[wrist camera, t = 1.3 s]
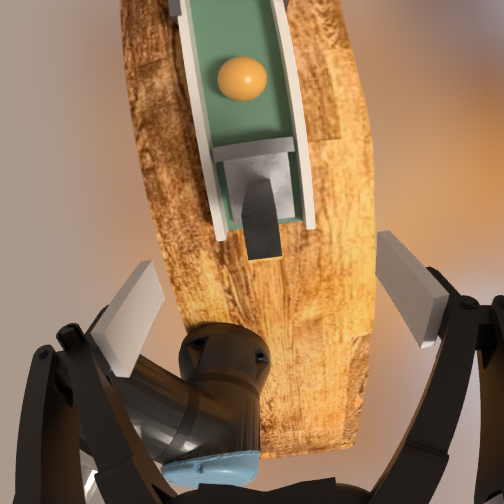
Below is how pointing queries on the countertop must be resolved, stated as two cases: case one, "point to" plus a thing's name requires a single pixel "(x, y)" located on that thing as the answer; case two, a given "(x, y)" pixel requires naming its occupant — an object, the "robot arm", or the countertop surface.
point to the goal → (176, 11)
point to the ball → (242, 78)
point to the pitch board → (250, 112)
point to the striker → (259, 190)
